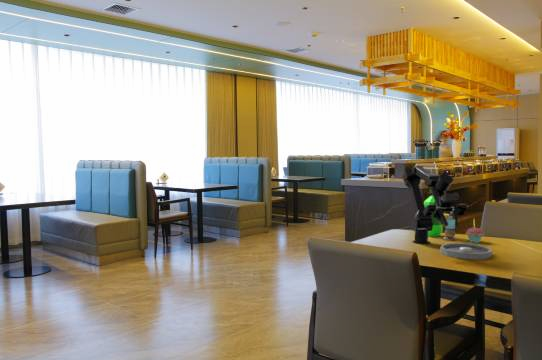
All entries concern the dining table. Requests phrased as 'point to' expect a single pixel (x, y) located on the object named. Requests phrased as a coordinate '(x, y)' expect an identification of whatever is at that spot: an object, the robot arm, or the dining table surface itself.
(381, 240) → the dining table surface
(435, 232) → the plastic bottle
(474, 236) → the cupcake
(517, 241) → the dining table surface
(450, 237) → the bead stack
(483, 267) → the dining table surface
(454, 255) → the groove tray
